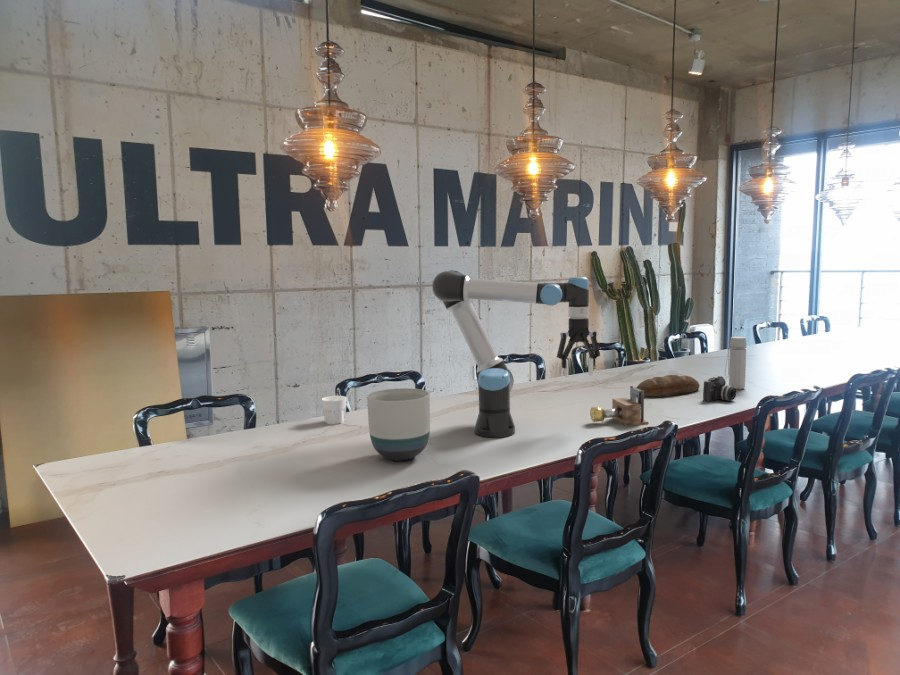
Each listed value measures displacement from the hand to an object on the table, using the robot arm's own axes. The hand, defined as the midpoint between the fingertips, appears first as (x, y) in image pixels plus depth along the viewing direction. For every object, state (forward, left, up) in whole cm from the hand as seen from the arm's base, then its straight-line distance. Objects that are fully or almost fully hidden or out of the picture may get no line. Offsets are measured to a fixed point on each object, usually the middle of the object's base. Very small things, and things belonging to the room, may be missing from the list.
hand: (578, 375), depth 234 cm
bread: (+64, +44, -20) cm, 80 cm away
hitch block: (+22, 0, -20) cm, 29 cm away
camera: (+77, +22, -20) cm, 82 cm away
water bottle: (+99, +43, -20) cm, 110 cm away
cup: (-93, +33, -20) cm, 101 cm away
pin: (+12, 0, -19) cm, 22 cm away
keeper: (+25, 0, -13) cm, 28 cm away
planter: (-72, -22, -20) cm, 78 cm away
